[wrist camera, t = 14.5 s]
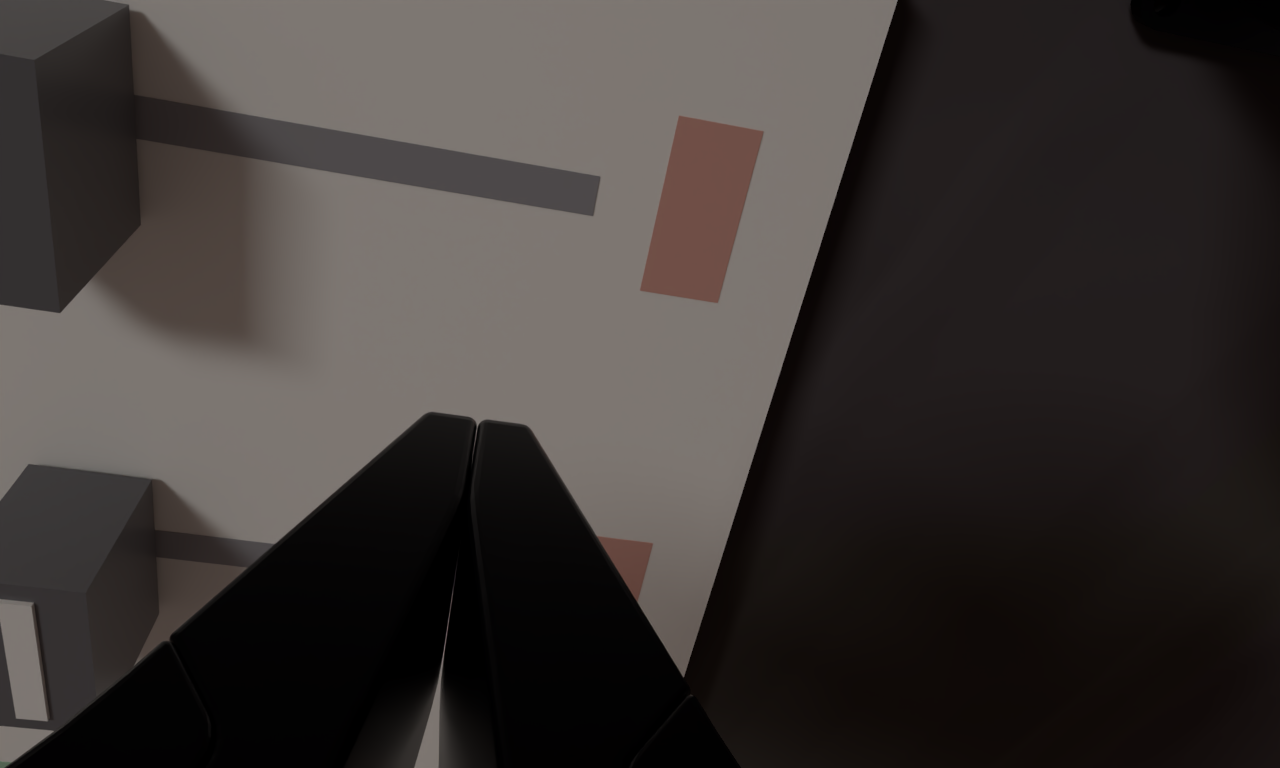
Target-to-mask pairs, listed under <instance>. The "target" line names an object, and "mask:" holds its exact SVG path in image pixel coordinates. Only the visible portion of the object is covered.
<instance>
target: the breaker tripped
mask: <svg viewBox="0 0 1280 768" xmlns="http://www.w3.org/2000/svg"><path fill="white" fill-rule="evenodd" d="M158 615H159V598H158V580H157V562H156V544H155V526H154V508H153V489H152V479H145V478H137V477H129V476H121V475H113V474H105V473H97V472H89V471H81V470H73V469H65V468H57V467H49V466H41V465H33V464H28V465H27V467H26V468H25V469H24V471H23V472H22V473H21V475H20V476H19V477H18V478H17V480H16V481H15V482H14V484H13V485H12V486H11V488H10V489H9V490H8V491H7V493H6V494H5V495H4V497H3V498H2V499H1V501H0V726H7V727H18V728H29V729H40V730H51V731H55V730H56V729H58V728H59V727H60V726H62V725H63V724H64V723H65V722H66V721H68V720H69V719H70V718H71V717H73V716H74V715H75V714H76V713H77V712H79V711H80V710H81V709H82V708H84V707H85V706H86V705H87V704H88V703H90V702H91V701H92V700H93V699H95V698H96V697H97V696H98V695H99V694H101V693H102V692H103V691H104V690H106V689H107V688H108V687H109V686H110V685H112V684H113V683H114V682H115V681H117V680H118V679H119V678H120V677H121V676H123V675H124V674H125V673H126V672H127V671H129V670H130V669H131V668H132V667H133V666H134V665H135V663H136V661H137V659H138V657H139V654H140V652H141V650H142V648H143V646H144V644H145V642H146V640H147V638H148V636H149V634H150V632H151V630H152V628H153V626H154V624H155V622H156V620H157V617H158Z"/></svg>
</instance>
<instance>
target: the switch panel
mask: <svg viewBox="0 0 1280 768" xmlns="http://www.w3.org/2000/svg"><path fill="white" fill-rule="evenodd" d="M106 1H112V2H117V3H122V4H128V5H129V12H130V31H131V49H132V68H133V87H134V105H135V124H136V143H137V162H138V180H139V199H140V218H141V225H140V226H139V228H138V229H137V230H136V231H135V232H134V233H133V234H132V235H131V236H130V237H129V238H128V240H127V241H126V242H125V243H124V244H123V245H122V246H121V247H120V248H119V249H118V251H117V252H116V253H115V254H114V255H113V256H112V257H111V258H110V259H109V260H108V261H107V263H106V264H105V265H104V266H103V267H102V268H101V269H100V270H99V271H98V272H97V273H96V275H95V276H94V277H93V278H92V279H91V280H90V281H89V282H88V283H87V284H86V286H85V287H84V288H83V289H82V290H81V291H80V292H79V293H78V294H77V295H76V296H75V298H74V299H73V300H72V301H71V302H70V303H69V304H68V305H67V306H66V307H65V309H64V310H63V311H62V312H61V313H55V312H48V311H41V310H34V309H27V308H20V307H13V306H6V305H0V501H1V499H2V498H3V497H4V495H5V494H6V493H7V491H8V490H9V489H10V488H11V486H12V485H13V484H14V482H15V481H16V480H17V478H18V477H19V476H20V475H21V473H22V472H23V471H24V469H25V468H26V467H27V465H28V464H33V465H41V466H49V467H57V468H65V469H73V470H81V471H89V472H97V473H105V474H113V475H121V476H129V477H137V478H145V479H152V489H153V508H154V526H155V544H156V562H157V580H158V598H159V615H158V617H157V620H156V622H155V624H154V626H153V628H152V630H151V632H150V634H149V636H148V638H147V640H146V642H145V644H144V646H143V648H142V650H141V652H140V654H139V657H138V659H137V661H136V663H135V664H137V663H138V662H139V661H140V660H141V659H142V658H143V657H145V656H146V655H147V654H148V653H149V652H150V651H151V650H153V649H154V648H155V647H156V646H157V645H158V644H159V643H161V642H162V641H169V639H170V635H171V634H172V633H173V632H174V631H175V630H176V629H178V628H179V627H180V626H181V625H182V624H183V623H184V622H186V621H187V620H188V619H189V618H190V617H191V616H193V615H194V614H195V613H196V612H197V611H198V610H199V609H201V608H202V607H203V606H204V605H205V604H206V603H207V602H209V601H210V600H211V599H212V598H213V597H214V596H216V595H217V594H218V593H219V592H220V591H221V590H222V589H224V588H225V587H226V586H227V585H228V584H229V583H231V582H232V581H233V580H234V579H235V578H236V577H237V576H239V575H240V574H241V573H242V572H243V571H244V570H245V569H247V568H248V567H249V566H250V565H251V564H252V563H254V562H255V561H256V560H257V559H258V558H259V557H260V556H262V555H263V554H264V553H265V552H266V551H267V550H268V549H270V548H271V547H272V546H273V545H274V544H275V543H277V542H278V541H279V540H280V539H281V538H282V537H283V536H285V535H286V534H287V533H288V532H289V531H290V530H291V529H293V528H294V527H295V526H296V525H297V524H298V523H300V522H301V521H302V520H303V519H304V518H305V517H306V516H308V515H309V514H310V513H311V512H312V511H313V510H314V509H316V508H317V507H318V506H319V505H320V504H321V503H323V502H324V501H325V500H326V499H327V498H328V497H329V496H331V495H332V494H333V493H334V492H335V491H336V490H337V489H339V488H340V487H341V486H342V485H343V484H344V483H346V482H347V481H348V480H349V479H350V478H351V477H352V476H354V475H355V474H356V473H357V472H358V471H359V470H361V469H362V468H363V467H364V466H365V465H366V464H367V463H369V462H370V461H371V460H372V459H373V458H374V457H375V456H377V455H378V454H379V453H380V452H381V451H382V450H384V449H385V448H386V447H387V446H388V445H389V444H390V443H392V442H393V441H394V440H395V439H396V438H397V437H398V436H400V435H401V434H402V433H403V432H404V431H405V430H407V429H408V428H409V427H410V426H411V425H412V424H413V423H415V422H416V421H417V420H418V419H419V418H420V417H421V416H423V415H424V414H425V413H428V412H439V413H446V414H453V415H461V416H468V417H471V418H473V419H474V420H475V421H476V423H477V427H478V425H479V423H480V422H481V421H483V420H486V419H489V420H497V421H504V422H512V423H519V424H524V425H527V426H528V427H529V428H530V429H531V430H532V431H533V433H534V435H535V436H536V438H537V440H538V441H539V443H540V444H541V446H542V448H543V449H544V451H545V453H546V454H547V456H548V457H549V459H550V461H551V462H552V464H553V466H554V467H555V469H556V471H557V472H558V474H559V475H560V477H561V479H562V480H563V482H564V484H565V485H566V487H567V488H568V490H569V492H570V493H571V495H572V497H573V498H574V500H575V501H576V503H577V505H578V506H579V508H580V510H581V511H582V513H583V514H584V516H585V518H586V519H587V521H588V523H589V524H590V526H591V528H592V529H593V531H594V532H595V534H596V536H597V537H598V539H599V541H600V542H601V544H602V545H603V547H604V549H605V550H606V552H607V554H608V555H609V557H610V558H611V560H612V562H613V563H614V565H615V567H616V568H617V570H618V572H619V573H620V575H621V576H622V578H623V580H624V581H625V583H626V585H627V586H628V588H629V589H630V591H631V593H632V594H633V596H634V598H635V599H636V601H637V602H638V604H639V606H640V607H641V609H642V611H643V612H644V614H645V616H646V617H647V619H648V620H649V622H650V624H651V625H652V627H653V629H654V630H655V632H656V633H657V635H658V637H659V638H660V640H661V642H662V643H663V645H664V646H665V648H666V650H667V651H668V653H669V655H670V656H671V658H672V660H673V661H674V663H675V664H676V666H677V668H678V669H679V671H680V673H681V674H682V676H683V677H684V675H685V672H686V669H687V666H688V662H689V659H690V656H691V653H692V650H693V647H694V643H695V640H696V637H697V634H698V631H699V628H700V624H701V621H702V618H703V615H704V612H705V609H706V605H707V602H708V599H709V596H710V593H711V590H712V586H713V583H714V580H715V577H716V574H717V571H718V567H719V564H720V561H721V558H722V555H723V552H724V548H725V545H726V542H727V539H728V536H729V533H730V529H731V526H732V523H733V520H734V517H735V514H736V510H737V507H738V504H739V501H740V498H741V495H742V491H743V488H744V485H745V482H746V479H747V476H748V472H749V469H750V466H751V463H752V460H753V457H754V453H755V450H756V447H757V444H758V441H759V438H760V434H761V431H762V428H763V425H764V422H765V419H766V415H767V412H768V409H769V406H770V403H771V400H772V396H773V393H774V390H775V387H776V384H777V381H778V377H779V374H780V371H781V368H782V365H783V362H784V358H785V355H786V352H787V349H788V346H789V343H790V339H791V336H792V333H793V330H794V327H795V324H796V320H797V317H798V314H799V311H800V308H801V305H802V301H803V298H804V295H805V292H806V289H807V286H808V282H809V279H810V276H811V273H812V270H813V267H814V263H815V260H816V257H817V254H818V251H819V248H820V245H821V241H822V238H823V235H824V232H825V229H826V226H827V222H828V219H829V216H830V213H831V210H832V207H833V203H834V200H835V197H836V194H837V191H838V188H839V184H840V181H841V178H842V175H843V172H844V169H845V165H846V162H847V159H848V156H849V153H850V150H851V146H852V143H853V140H854V137H855V134H856V131H857V127H858V124H859V121H860V118H861V115H862V112H863V108H864V105H865V102H866V99H867V96H868V93H869V89H870V86H871V83H872V80H873V77H874V74H875V70H876V67H877V64H878V61H879V58H880V55H881V51H882V48H883V45H884V42H885V39H886V36H887V32H888V29H889V26H890V23H891V20H892V17H893V13H894V10H895V7H896V4H897V1H898V0H106ZM476 434H477V430H476ZM475 440H476V437H475ZM474 446H475V444H474ZM473 453H474V451H473ZM472 459H473V458H472ZM455 574H456V573H455ZM454 581H455V580H454ZM453 588H454V587H453ZM452 595H453V593H452ZM451 602H452V600H451ZM450 609H451V607H450ZM449 616H450V613H449ZM448 623H449V620H448ZM447 630H448V627H447ZM446 637H447V633H446ZM445 644H446V640H445ZM444 651H445V647H444ZM443 658H444V653H443ZM442 667H443V659H442V664H441V670H440V675H439V680H438V685H437V689H436V693H435V696H434V700H433V704H432V708H431V712H430V715H429V719H428V722H427V726H426V729H425V733H424V736H423V739H422V743H421V746H420V750H419V753H418V757H417V760H416V764H415V767H414V768H439V709H440V688H441V676H442ZM52 732H54V731H51V730H40V729H29V728H18V727H7V726H0V768H5V767H6V766H7V765H9V764H10V763H12V762H13V761H14V760H16V759H17V758H18V757H20V756H21V755H22V754H24V753H25V752H26V751H28V750H29V749H31V748H32V747H33V746H35V745H36V744H37V743H39V742H40V741H41V740H43V739H44V738H45V737H47V736H48V735H50V734H51V733H52Z"/></svg>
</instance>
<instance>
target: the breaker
mask: <svg viewBox="0 0 1280 768" xmlns="http://www.w3.org/2000/svg"><path fill="white" fill-rule="evenodd" d="M140 225H141V218H140V199H139V180H138V162H137V143H136V124H135V105H134V87H133V68H132V49H131V31H130V12H129V5H128V4H122V3H117V2H112V1H106V0H0V305H6V306H13V307H20V308H27V309H34V310H41V311H48V312H55V313H61V312H62V311H63V310H64V309H65V307H66V306H67V305H68V304H69V303H70V302H71V301H72V300H73V299H74V298H75V296H76V295H77V294H78V293H79V292H80V291H81V290H82V289H83V288H84V287H85V286H86V284H87V283H88V282H89V281H90V280H91V279H92V278H93V277H94V276H95V275H96V273H97V272H98V271H99V270H100V269H101V268H102V267H103V266H104V265H105V264H106V263H107V261H108V260H109V259H110V258H111V257H112V256H113V255H114V254H115V253H116V252H117V251H118V249H119V248H120V247H121V246H122V245H123V244H124V243H125V242H126V241H127V240H128V238H129V237H130V236H131V235H132V234H133V233H134V232H135V231H136V230H137V229H138V228H139V226H140Z"/></svg>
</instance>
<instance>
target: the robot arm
mask: <svg viewBox="0 0 1280 768" xmlns="http://www.w3.org/2000/svg"><path fill="white" fill-rule="evenodd" d="M1154 3H1155V0H1131V9H1132V14H1133V16H1134V17H1135V18H1136V20H1137V21H1138V22H1140V23H1142V24H1144V25H1146V26H1148V27H1150V28H1152V29H1154V30H1157V31H1162V32H1167V33H1171V34H1176V35H1181V36H1185V37H1190V38H1195V39H1200V40H1204V41H1209V42H1214V43H1218V44H1223V45H1228V46H1233V47H1237V48H1242V49H1247V50H1251V51H1256V52H1261V53H1266V54H1270V55H1275V56H1280V0H1170V2H1169V3H1168V5H1167V6H1166V7H1165V8H1164V9H1162V10H1161V11H1159V12H1155V10H1154ZM476 430H477V434H476ZM475 437H476V440H475ZM474 444H475V446H474ZM473 451H474V453H473ZM472 458H473V459H472ZM455 573H456V574H455ZM454 580H455V581H454ZM453 587H454V588H453ZM452 593H453V595H452ZM451 600H452V602H451ZM450 607H451V609H450ZM449 613H450V616H449ZM448 620H449V623H448ZM447 627H448V630H447ZM446 633H447V637H446ZM445 640H446V644H445ZM444 647H445V651H444ZM443 653H444V658H443ZM442 659H443V667H442V676H441V688H440V709H439V768H741V767H740V766H739V764H738V763H737V761H736V760H735V758H734V757H733V755H732V754H731V752H730V751H729V749H728V748H727V746H726V745H725V743H724V741H723V740H722V738H721V737H720V735H719V734H718V732H717V731H716V729H715V727H714V726H713V724H712V723H711V721H710V719H709V718H708V716H707V714H706V713H705V711H704V709H703V708H702V706H701V704H700V703H699V701H698V699H697V698H696V697H695V696H693V695H690V687H689V686H688V684H687V682H686V681H685V679H684V677H683V676H682V674H681V673H680V671H679V669H678V668H677V666H676V664H675V663H674V661H673V660H672V658H671V656H670V655H669V653H668V651H667V650H666V648H665V646H664V645H663V643H662V642H661V640H660V638H659V637H658V635H657V633H656V632H655V630H654V629H653V627H652V625H651V624H650V622H649V620H648V619H647V617H646V616H645V614H644V612H643V611H642V609H641V607H640V606H639V604H638V602H637V601H636V599H635V598H634V596H633V594H632V593H631V591H630V589H629V588H628V586H627V585H626V583H625V581H624V580H623V578H622V576H621V575H620V573H619V572H618V570H617V568H616V567H615V565H614V563H613V562H612V560H611V558H610V557H609V555H608V554H607V552H606V550H605V549H604V547H603V545H602V544H601V542H600V541H599V539H598V537H597V536H596V534H595V532H594V531H593V529H592V528H591V526H590V524H589V523H588V521H587V519H586V518H585V516H584V514H583V513H582V511H581V510H580V508H579V506H578V505H577V503H576V501H575V500H574V498H573V497H572V495H571V493H570V492H569V490H568V488H567V487H566V485H565V484H564V482H563V480H562V479H561V477H560V475H559V474H558V472H557V471H556V469H555V467H554V466H553V464H552V462H551V461H550V459H549V457H548V456H547V454H546V453H545V451H544V449H543V448H542V446H541V444H540V443H539V441H538V440H537V438H536V436H535V435H534V433H533V431H532V430H531V429H530V428H529V427H528V426H527V425H524V424H519V423H512V422H504V421H497V420H489V419H486V420H483V421H481V422H480V423H479V425H478V427H477V423H476V421H475V420H474V419H473V418H471V417H468V416H461V415H453V414H446V413H439V412H428V413H425V414H424V415H423V416H421V417H420V418H419V419H418V420H417V421H416V422H415V423H413V424H412V425H411V426H410V427H409V428H408V429H407V430H405V431H404V432H403V433H402V434H401V435H400V436H398V437H397V438H396V439H395V440H394V441H393V442H392V443H390V444H389V445H388V446H387V447H386V448H385V449H384V450H382V451H381V452H380V453H379V454H378V455H377V456H375V457H374V458H373V459H372V460H371V461H370V462H369V463H367V464H366V465H365V466H364V467H363V468H362V469H361V470H359V471H358V472H357V473H356V474H355V475H354V476H352V477H351V478H350V479H349V480H348V481H347V482H346V483H344V484H343V485H342V486H341V487H340V488H339V489H337V490H336V491H335V492H334V493H333V494H332V495H331V496H329V497H328V498H327V499H326V500H325V501H324V502H323V503H321V504H320V505H319V506H318V507H317V508H316V509H314V510H313V511H312V512H311V513H310V514H309V515H308V516H306V517H305V518H304V519H303V520H302V521H301V522H300V523H298V524H297V525H296V526H295V527H294V528H293V529H291V530H290V531H289V532H288V533H287V534H286V535H285V536H283V537H282V538H281V539H280V540H279V541H278V542H277V543H275V544H274V545H273V546H272V547H271V548H270V549H268V550H267V551H266V552H265V553H264V554H263V555H262V556H260V557H259V558H258V559H257V560H256V561H255V562H254V563H252V564H251V565H250V566H249V567H248V568H247V569H245V570H244V571H243V572H242V573H241V574H240V575H239V576H237V577H236V578H235V579H234V580H233V581H232V582H231V583H229V584H228V585H227V586H226V587H225V588H224V589H222V590H221V591H220V592H219V593H218V594H217V595H216V596H214V597H213V598H212V599H211V600H210V601H209V602H207V603H206V604H205V605H204V606H203V607H202V608H201V609H199V610H198V611H197V612H196V613H195V614H194V615H193V616H191V617H190V618H189V619H188V620H187V621H186V622H184V623H183V624H182V625H181V626H180V627H179V628H178V629H176V630H175V631H174V632H173V633H172V634H171V635H170V639H169V641H162V642H161V643H159V644H158V645H157V646H156V647H155V648H154V649H153V650H151V651H150V652H149V653H148V654H147V655H146V656H145V657H143V658H142V659H141V660H140V661H139V662H138V663H137V664H135V665H134V666H133V667H132V668H131V669H130V670H129V671H127V672H126V673H125V674H124V675H123V676H121V677H120V678H119V679H118V680H117V681H115V682H114V683H113V684H112V685H110V686H109V687H108V688H107V689H106V690H104V691H103V692H102V693H101V694H99V695H98V696H97V697H96V698H95V699H93V700H92V701H91V702H90V703H88V704H87V705H86V706H85V707H84V708H82V709H81V710H80V711H79V712H77V713H76V714H75V715H74V716H73V717H71V718H70V719H69V720H68V721H66V722H65V723H64V724H63V725H62V726H60V727H59V728H58V729H56V730H55V731H54V732H52V733H51V734H50V735H48V736H47V737H45V738H44V739H43V740H41V741H40V742H39V743H37V744H36V745H35V746H33V747H32V748H31V749H29V750H28V751H26V752H25V753H24V754H22V755H21V756H20V757H18V758H17V759H16V760H14V761H13V762H12V763H10V764H9V765H7V766H6V767H5V768H414V767H415V764H416V760H417V757H418V753H419V750H420V746H421V743H422V739H423V736H424V733H425V729H426V726H427V722H428V719H429V715H430V712H431V708H432V704H433V700H434V696H435V693H436V689H437V685H438V680H439V675H440V670H441V664H442Z"/></svg>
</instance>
